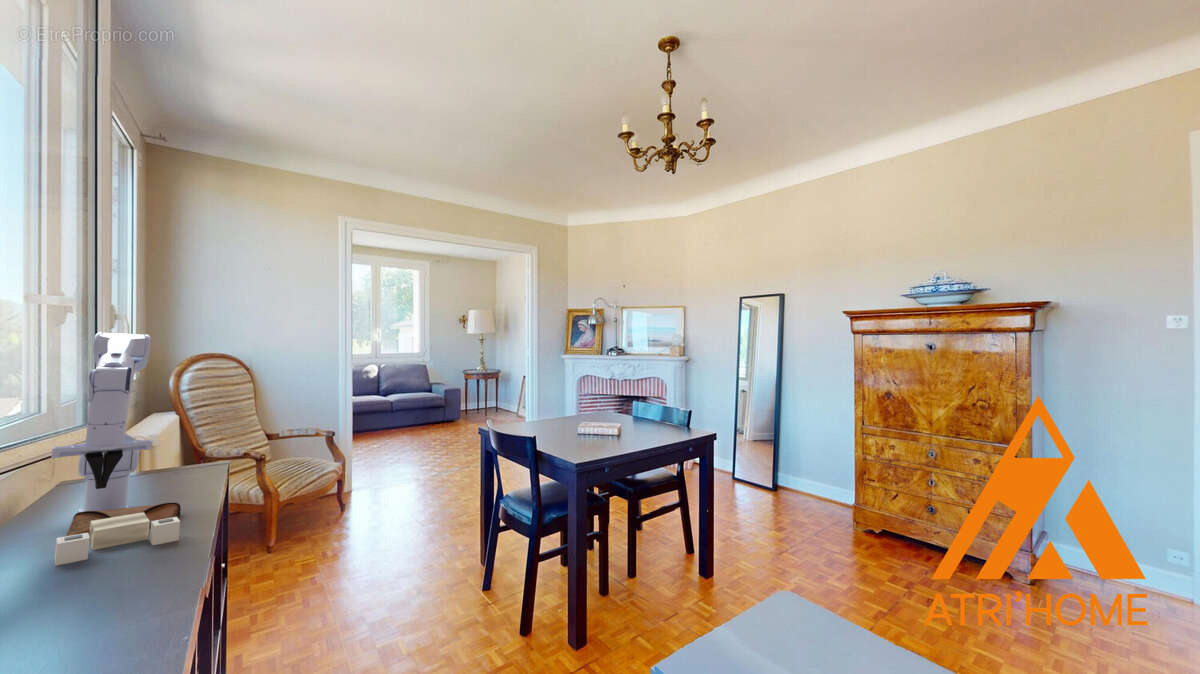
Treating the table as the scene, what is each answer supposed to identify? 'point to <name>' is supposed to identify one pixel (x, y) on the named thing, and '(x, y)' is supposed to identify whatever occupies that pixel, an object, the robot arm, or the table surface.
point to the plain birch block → (118, 530)
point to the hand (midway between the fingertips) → (100, 487)
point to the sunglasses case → (152, 512)
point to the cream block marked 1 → (72, 548)
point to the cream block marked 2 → (164, 530)
